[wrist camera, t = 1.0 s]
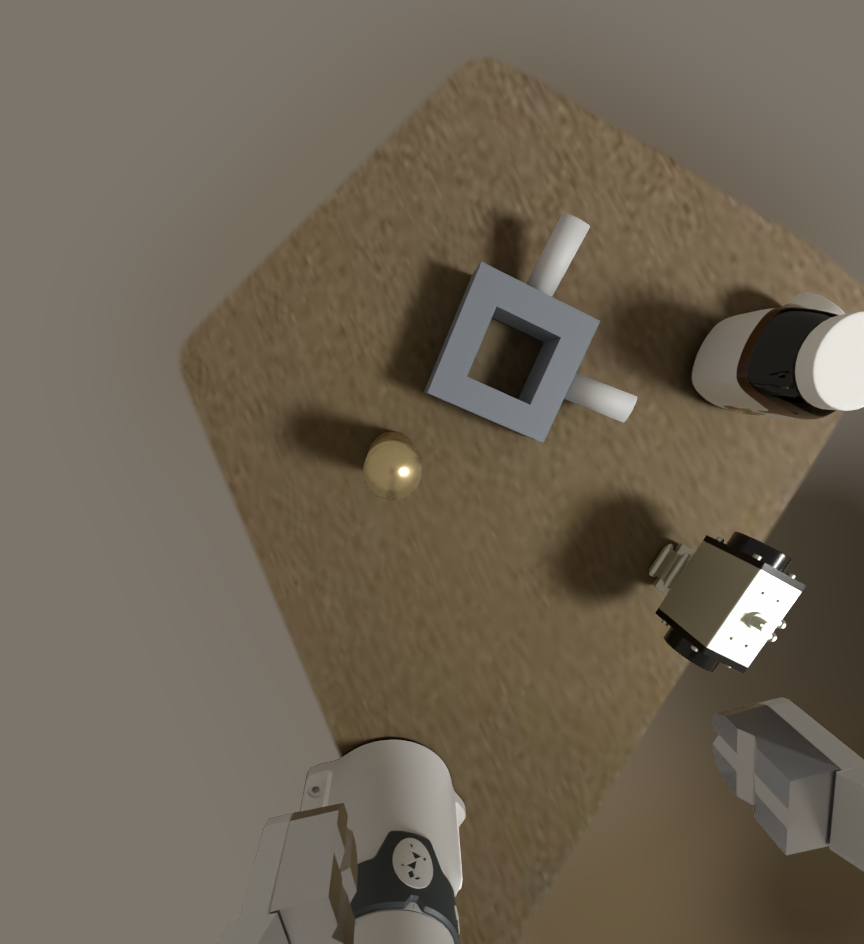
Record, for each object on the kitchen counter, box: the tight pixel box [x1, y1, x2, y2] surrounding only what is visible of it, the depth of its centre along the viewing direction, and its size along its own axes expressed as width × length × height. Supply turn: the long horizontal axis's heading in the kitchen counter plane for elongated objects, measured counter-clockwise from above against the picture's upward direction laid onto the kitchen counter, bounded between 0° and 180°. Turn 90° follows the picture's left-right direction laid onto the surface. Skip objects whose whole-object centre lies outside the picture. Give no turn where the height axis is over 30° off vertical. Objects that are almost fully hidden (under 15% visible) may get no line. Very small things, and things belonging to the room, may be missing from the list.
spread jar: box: [691, 292, 864, 419], centre depth 35 cm, size 12×11×12 cm
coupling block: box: [424, 213, 637, 443], centre depth 35 cm, size 17×17×6 cm
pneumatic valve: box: [648, 532, 806, 673], centre depth 38 cm, size 6×12×12 cm, turn 152°
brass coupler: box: [363, 431, 422, 500], centre depth 35 cm, size 4×4×8 cm
